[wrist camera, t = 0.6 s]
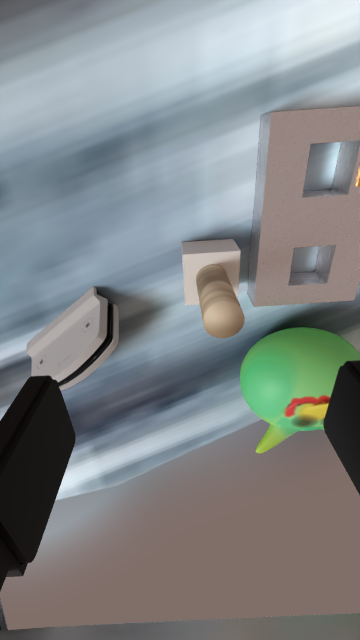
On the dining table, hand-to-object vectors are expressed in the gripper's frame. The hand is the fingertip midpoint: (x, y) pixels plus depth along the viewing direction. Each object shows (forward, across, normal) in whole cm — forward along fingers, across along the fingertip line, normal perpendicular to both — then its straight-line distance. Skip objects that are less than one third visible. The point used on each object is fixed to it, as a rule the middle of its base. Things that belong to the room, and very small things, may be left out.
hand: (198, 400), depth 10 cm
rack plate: (+32, -16, 0) cm, 36 cm away
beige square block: (+32, -4, +6) cm, 33 cm away
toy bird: (+33, -17, +23) cm, 44 cm away
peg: (+27, -4, +6) cm, 28 cm away
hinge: (+33, +17, +16) cm, 40 cm away
